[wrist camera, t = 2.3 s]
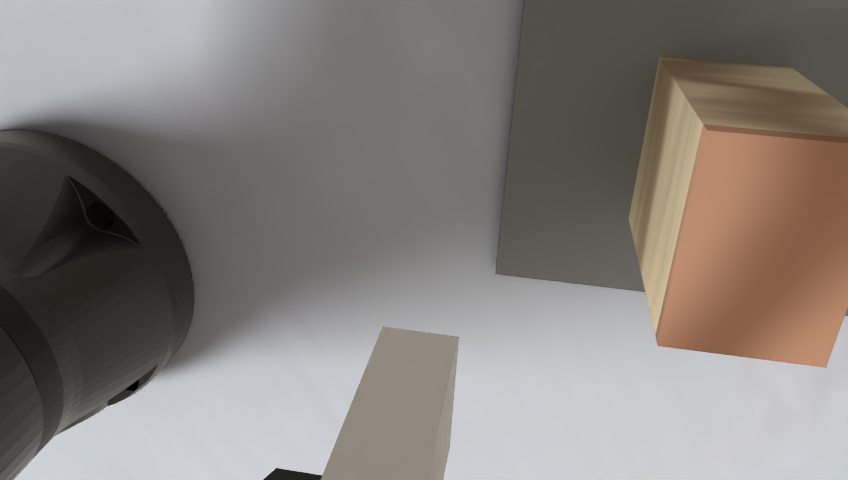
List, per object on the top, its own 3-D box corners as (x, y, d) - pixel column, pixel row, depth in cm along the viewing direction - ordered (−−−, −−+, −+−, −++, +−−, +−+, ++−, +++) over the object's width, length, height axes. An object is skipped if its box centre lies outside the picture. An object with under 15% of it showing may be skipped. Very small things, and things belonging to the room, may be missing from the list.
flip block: (628, 218, 31) (657, 345, 23) (659, 57, 28) (707, 130, 20) (747, 231, 31) (825, 367, 22) (792, 68, 28) (904, 148, 19)
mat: (496, 267, 34) (495, 273, 34) (535, -105, 27) (535, -105, 27) (1048, 333, 31) (1057, 341, 31) (1252, -66, 24) (1267, -65, 24)
